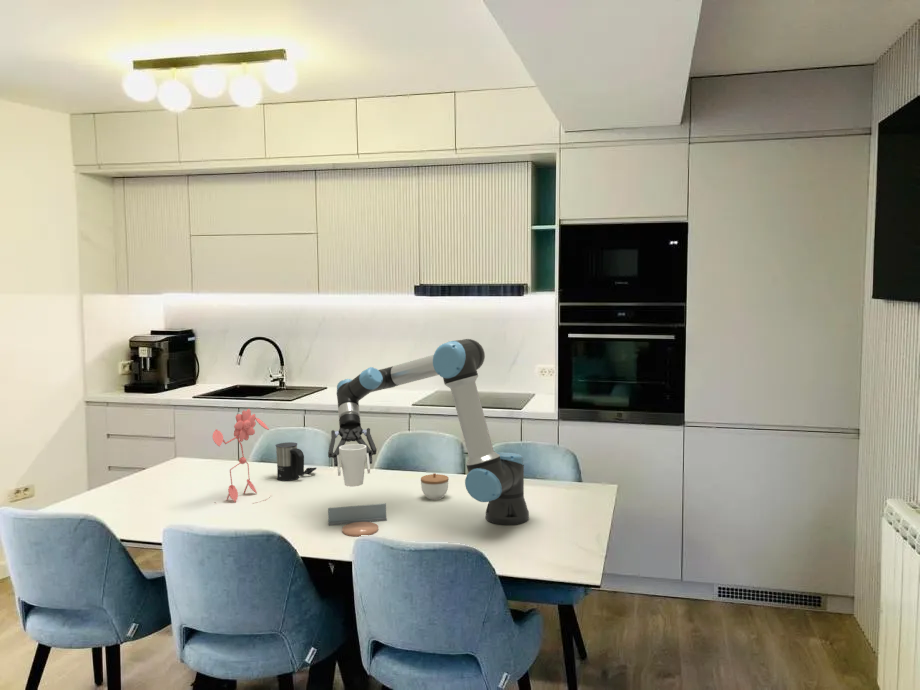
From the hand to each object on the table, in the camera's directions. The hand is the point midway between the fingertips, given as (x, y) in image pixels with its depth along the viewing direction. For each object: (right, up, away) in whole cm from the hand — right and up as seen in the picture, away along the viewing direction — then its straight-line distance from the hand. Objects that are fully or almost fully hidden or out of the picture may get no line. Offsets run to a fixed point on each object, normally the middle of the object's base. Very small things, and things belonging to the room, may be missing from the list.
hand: (354, 472), depth 257 cm
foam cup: (-1, -5, +4) cm, 6 cm away
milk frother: (-34, -13, +67) cm, 76 cm away
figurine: (-46, -16, +35) cm, 60 cm away
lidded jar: (+26, -15, +33) cm, 45 cm away
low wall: (0, -18, +6) cm, 19 cm away
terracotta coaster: (+3, -19, -4) cm, 19 cm away
